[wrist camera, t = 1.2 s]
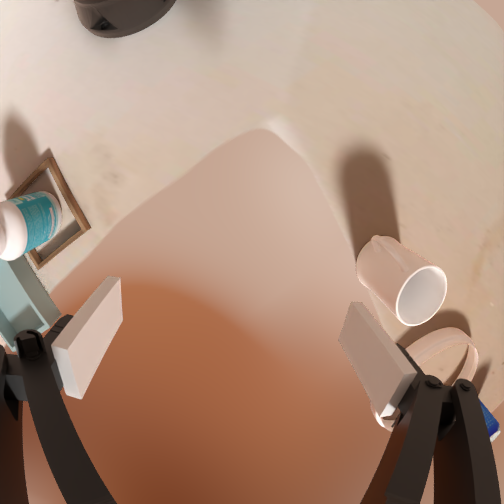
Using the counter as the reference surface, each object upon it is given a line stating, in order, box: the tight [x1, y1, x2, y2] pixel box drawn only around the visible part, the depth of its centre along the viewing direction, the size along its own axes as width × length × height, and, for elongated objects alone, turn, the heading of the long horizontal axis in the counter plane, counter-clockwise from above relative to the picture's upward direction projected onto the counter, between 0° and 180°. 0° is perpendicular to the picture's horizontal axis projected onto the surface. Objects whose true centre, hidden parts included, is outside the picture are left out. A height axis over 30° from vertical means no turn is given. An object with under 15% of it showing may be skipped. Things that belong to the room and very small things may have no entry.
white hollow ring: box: [370, 327, 478, 432], centre depth 49 cm, size 27×27×6 cm
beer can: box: [479, 400, 500, 442], centre depth 52 cm, size 8×8×16 cm
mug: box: [356, 235, 447, 326], centre depth 35 cm, size 12×8×12 cm
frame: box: [8, 158, 91, 270], centre depth 35 cm, size 12×12×2 cm
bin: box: [0, 255, 61, 352], centre depth 37 cm, size 15×15×4 cm
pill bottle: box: [0, 191, 62, 261], centre depth 29 cm, size 8×7×14 cm
